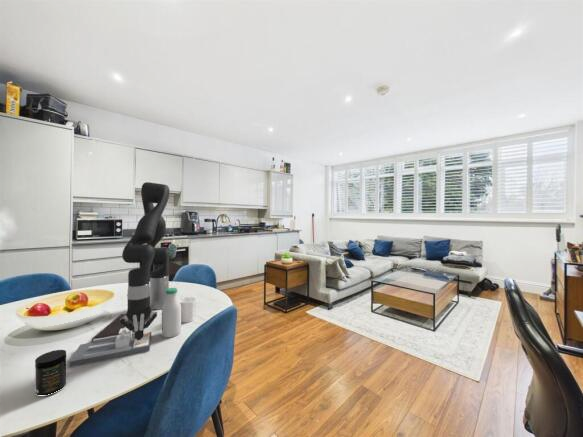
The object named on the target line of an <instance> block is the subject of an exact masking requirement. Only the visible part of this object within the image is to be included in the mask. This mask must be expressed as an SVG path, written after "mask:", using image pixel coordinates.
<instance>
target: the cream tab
mask: <svg viewBox="0 0 583 437" xmlns="http://www.w3.org/2000/svg"><path fill="white" fill-rule="evenodd" d="M122 333H125V334H130V339H131V338H132V331H129V330H128V329H127V328H126V327H125V328H122V329H120V331H119V335H122Z"/></svg>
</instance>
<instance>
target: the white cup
mask: <svg viewBox="0 0 583 437" xmlns="http://www.w3.org/2000/svg"><path fill="white" fill-rule="evenodd" d="M178 300H179V302H180V305H181V323H190V322H192V321H194V320H195V317H196V315H195V314H196V301H197V299H196V297H192V296H190V297H189V296H188V297H183V298H179V299H178Z"/></svg>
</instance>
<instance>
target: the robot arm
mask: <svg viewBox="0 0 583 437" xmlns="http://www.w3.org/2000/svg"><path fill="white" fill-rule="evenodd" d="M140 194H141V201H142V207H143V212H144V214H143V216H142V217H141V218H140V219H139V221H138V222H137V225H136V228H135V231H134V234H133V236H132V237H131V238H130V240H129V241H128V242H127V243H126V244H125V245H124V248H123V250H122V255H121V257H122V260H123V261H124V262H125V263H128V264H141V263H142V264H141V267H136V268H133V269H131V270H129V271H128V275H127V278H128V279H127V280H128V281H127V286H128V287H127V295H126V296H127V297H126V298H127V311H126V313H125V314H126V315H125V316H124V317H121V319H120V323H121V324H123V325H124V326H125V327H126V328H127V329H128V330H129V331H132V330H133V331H135V339H137V340H141V338H143V335H144V333H145V332H144V331H145V329H148V328H149V327H150V325H151V324H152V323H153V322H154V320H155V319H156V318H157V316H158V312H156V311H153V310H162V307H163V304H164V302H165V299H166V289H169V288H170V287H169V286H170V285H169V284H170V281H169V280H170V279H169V277H170V275H169V274H170V273H169V269H170V268H169V265H170V262H169V261H170V250H169V248H168V247H156V245H158V243H159V242H160V241H162V239H164V237H165V235H166V232H167V222H166V220H165V218H164V217H163V213H164V211H165V209H166V206H167V203H168V202H169V198H170V187H169V185H166V184H164V183H163V184H162V183H157V182H156V183H155V182H143V184H142V185H141V189H140ZM154 204H155V206H154ZM152 265H161V266H160V267H159V268H156V269H154V270H152V271H151V268H152ZM150 314H151V315H150ZM149 315H150V319H149V320H148V321H147V322H146V324H144V320H146V319H147V317H148V316H149ZM127 317H128V318H129V319H130V320H131V321H132V322H133V323H134V326H133V325H132V324H131V323H130V322H129V321H128V318H127ZM138 322H140V329H139V324H138Z"/></svg>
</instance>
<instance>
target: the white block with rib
mask: <svg viewBox="0 0 583 437" xmlns="http://www.w3.org/2000/svg"><path fill="white" fill-rule="evenodd" d="M115 344H116V349H119V348H124V347H129V344H130V334H125V333H122V335H118V336H117V338H116V341H115Z"/></svg>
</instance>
